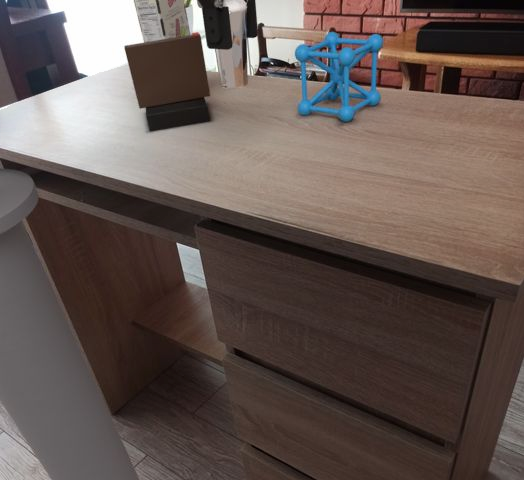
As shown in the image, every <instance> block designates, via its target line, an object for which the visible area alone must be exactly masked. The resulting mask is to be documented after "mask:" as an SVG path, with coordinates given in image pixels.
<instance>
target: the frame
mask: <svg viewBox="0 0 524 480" xmlns="http://www.w3.org/2000/svg"><path fill="white" fill-rule="evenodd" d="M123 49H124V52H125V56H126V61H127V64H128V68H129V72H130V76H131V80H132V85H133V88H134V92H135V96H136V100H137V104H138V109H146V107H152V106H157V105H163V104H169V103H175V102H181V101H186V100H192V99H198V98H209V97H211V92H210V91H211V90H210V85H209V78H208V73H207V68H206V67H207V66H206V61H205V55H204V48H203V43H202V36H201V34H200V32H199V31H196V32H191V34H190V35H187V36H181V37H175V38H169V39H163V40H157V41H150V42H144V41H143V42H138V43H132V44H127V45H124V48H123Z"/></svg>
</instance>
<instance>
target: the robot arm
mask: <svg viewBox="0 0 524 480" xmlns="http://www.w3.org/2000/svg"><path fill="white" fill-rule="evenodd" d="M244 1H245V2H246V3H247V0H244ZM256 3H257V2H256V0H248V3H247V39H255V38H257V37H258V35H259V28H258V27H259V26H258V15H257V4H256ZM196 5H197V7H198V8H199V9H201V12H202V21H203V28H204V34H205V35H204V36H205V40H206V47H207V48H208V49H209V50H215V49H223V50H229V49H231V48H232V46H233V43H232V34H231V25H230V16H229V8H228V6H224V0H196Z"/></svg>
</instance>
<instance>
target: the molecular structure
mask: <svg viewBox="0 0 524 480" xmlns="http://www.w3.org/2000/svg"><path fill="white" fill-rule="evenodd" d="M383 44H384V40H383V37H382V35H380V34H379V33H374V34H372V35H370V36H369V37H368V38H367V39H359V38H358V39H357V38H343V37H339V34H338V33H337V32H335V31H330V32H328V33H326V35H325V37H324V39H323V41H321V42H319V43H316V44H314V45H312V46H309V45H307V44H305V43H301V44H299V45H298V46H296V48H295V50H294V57H295V59H296V60H297V62H299V63H300V76H301V77H300V78H301V79H300V80H301V97H302V100H301V101H299V103H298V105H297V111H298V114H300V115H301V116H308V115H310V114H311V113H312V112H314V113H323V114H327V115H335V116H338V118H339V119H340V121H341V122H344V123H349V122H351V121H352V120H353V119H354V116H355V112H357V111H358V110H360V109H362V108H364V107H365V106H367V105H368V106H370V107H376V106H377V105H378V104H379V103H380V101H381V98H382V97H381V96H382V95H381V93H380V92H379V90H377V69H378V67H377V66H378V52H379V51H380V50H382V48H383ZM339 45H353V46H354V45H355V46H356V45H357V46H360V47H358V48H355V49H353V48H351V47H349V46H346V47H343V48H342V49H340V50H339V52H337V47H338V46H339ZM324 47H326V48H327V49H329V51H318V50H320V49H322V48H324ZM370 52H371V54H372V55H371V77H370V90H369V91H368V90H366V89H365V88H363V87H361V86H360V85H359V84H357V83H355V82H354V81H352V80H350V70H352V69H353V68H354V67H355V66H356V65H357V64H358V63H359V62H360V61H361V60H362V59H363V58H364V57H366V56H367V55H368V54H369V53H370ZM318 58H319V59H321V58H323V59H329V65H327V64H325V63H324V62H322V61H321V60H319V59H318ZM307 61H309V62H310V63H312V64H314V65H315V66H317V68H320V69H322V70H323V71H325V72H326V73H328V74H329V81H328V82H327V83H326V84H325V85H324V86H323V87H322V88H321V89H320V90H319V91H317V93H315V95H314V96H312V97H311V98H310V99H308V89H307V88H308V87H307V65H306V62H307ZM350 88H351V89H353V90H355V91H356V92H358V93H356V92H350ZM338 98H340V101H341V107H340V108H339V109H337V108H329V107H323V106H317V105H318V104H320V103H322V102H323V101H325V100H328V101H330V102H331V101H332V102H333V101H336V100H337V99H338ZM350 99H358V100H362V101H361V102H359V103H357V104H356V105H353V106H351V105H350Z"/></svg>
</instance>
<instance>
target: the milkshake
mask: <svg viewBox="0 0 524 480" xmlns="http://www.w3.org/2000/svg"><path fill="white" fill-rule="evenodd" d="M247 3H248V0H247ZM247 3H246V2H245V1H244V0H224V6H228V8H229V16H230V25H231V34H232V43H233V46H232V48H231V49H229V50H223V49H214V52H215V57H216V63H217V68H218V73H219V79H220V85H221V88H223V89H227V90H235V89H240V88H244V87H246V86H248V85H249V77H248V75H249V74H248V71H249V70H248V38H247Z"/></svg>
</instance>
